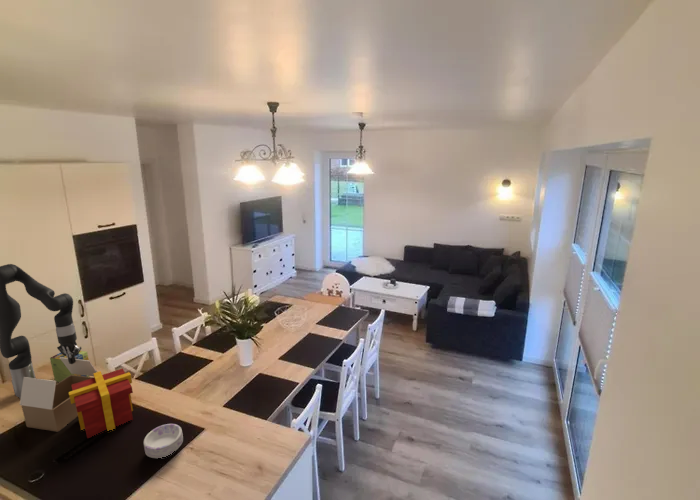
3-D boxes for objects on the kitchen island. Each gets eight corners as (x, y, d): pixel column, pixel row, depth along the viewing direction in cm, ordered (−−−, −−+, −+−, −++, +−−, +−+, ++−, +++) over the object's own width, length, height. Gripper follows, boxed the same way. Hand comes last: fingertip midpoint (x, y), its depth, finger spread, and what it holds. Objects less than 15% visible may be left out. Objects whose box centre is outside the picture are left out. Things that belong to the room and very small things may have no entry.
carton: (26, 426, 176) (21, 405, 173) (75, 394, 201) (71, 374, 198) (57, 431, 173) (52, 409, 170) (103, 397, 198) (99, 378, 195)
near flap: (20, 404, 173) (19, 405, 173) (24, 377, 174) (23, 377, 174) (52, 409, 170) (51, 409, 169) (56, 380, 171) (55, 381, 171)
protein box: (76, 384, 210) (71, 360, 206) (54, 381, 213) (49, 357, 209) (92, 374, 220) (87, 351, 216) (71, 371, 223) (66, 348, 219)
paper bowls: (145, 469, 152) (142, 453, 150) (146, 445, 165) (143, 430, 163) (185, 456, 159) (183, 440, 157) (182, 433, 172) (180, 419, 170)
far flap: (59, 357, 191) (60, 357, 192) (71, 373, 198) (72, 372, 199) (88, 361, 188) (89, 360, 188) (99, 377, 195) (100, 376, 195)
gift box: (79, 445, 164) (71, 406, 160) (74, 417, 183) (66, 381, 178) (141, 420, 180) (135, 384, 176) (130, 396, 199) (125, 363, 194)
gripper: (48, 334, 182) (54, 365, 186) (70, 337, 180) (76, 368, 184) (62, 328, 189) (68, 358, 194) (83, 330, 187) (89, 360, 191)
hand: (72, 363), depth 189 cm, fingers closed
